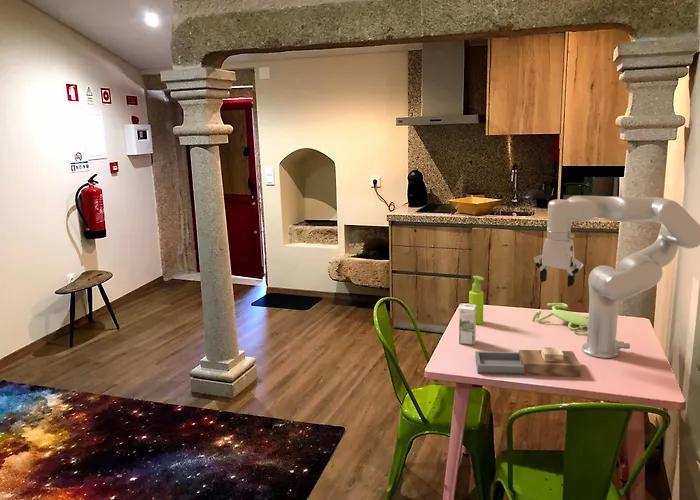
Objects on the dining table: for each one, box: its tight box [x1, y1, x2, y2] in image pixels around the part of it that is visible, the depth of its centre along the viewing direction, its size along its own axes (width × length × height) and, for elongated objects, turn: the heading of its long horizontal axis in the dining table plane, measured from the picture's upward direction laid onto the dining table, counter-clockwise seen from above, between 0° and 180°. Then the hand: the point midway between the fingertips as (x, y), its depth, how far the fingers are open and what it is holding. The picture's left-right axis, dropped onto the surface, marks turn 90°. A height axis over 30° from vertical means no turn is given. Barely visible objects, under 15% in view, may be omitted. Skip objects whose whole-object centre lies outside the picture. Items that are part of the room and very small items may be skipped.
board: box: [518, 349, 582, 378], centre depth 198 cm, size 18×12×4 cm, turn 82°
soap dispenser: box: [468, 275, 485, 326], centre depth 241 cm, size 6×7×20 cm
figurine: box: [532, 302, 589, 336], centre depth 240 cm, size 18×27×6 cm
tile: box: [540, 346, 563, 361], centre depth 197 cm, size 6×6×2 cm
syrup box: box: [458, 303, 477, 346], centre depth 221 cm, size 6×6×14 cm
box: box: [474, 350, 525, 376], centre depth 200 cm, size 15×12×3 cm
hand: (556, 283), depth 204 cm, fingers open, 9 cm apart
